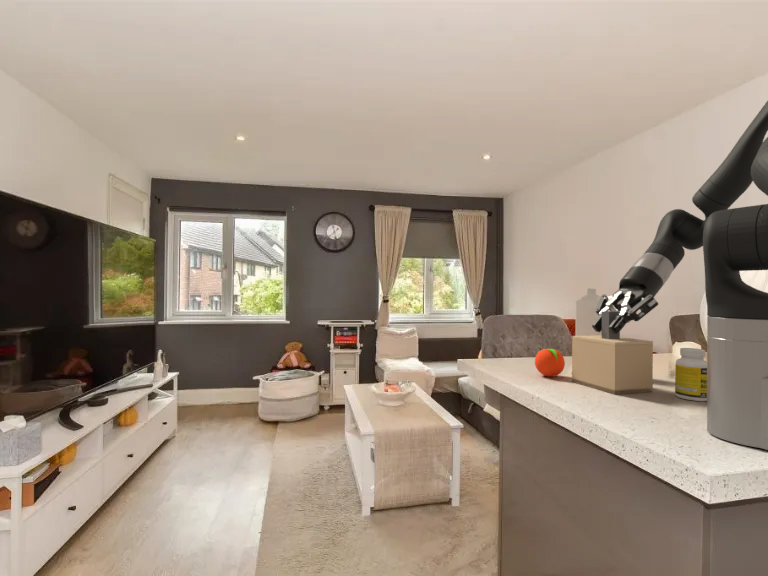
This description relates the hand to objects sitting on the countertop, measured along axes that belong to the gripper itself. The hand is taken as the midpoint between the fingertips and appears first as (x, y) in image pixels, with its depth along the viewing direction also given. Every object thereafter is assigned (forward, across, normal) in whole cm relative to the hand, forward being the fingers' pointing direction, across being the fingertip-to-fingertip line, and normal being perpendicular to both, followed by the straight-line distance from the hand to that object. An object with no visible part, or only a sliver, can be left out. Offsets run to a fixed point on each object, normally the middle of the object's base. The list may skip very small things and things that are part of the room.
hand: (603, 330), depth 89 cm
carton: (+7, 0, -10) cm, 13 cm away
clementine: (+12, +12, -6) cm, 18 cm away
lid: (0, 0, -3) cm, 3 cm away
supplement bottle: (+2, -12, -16) cm, 20 cm away
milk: (+1, +15, -17) cm, 23 cm away
